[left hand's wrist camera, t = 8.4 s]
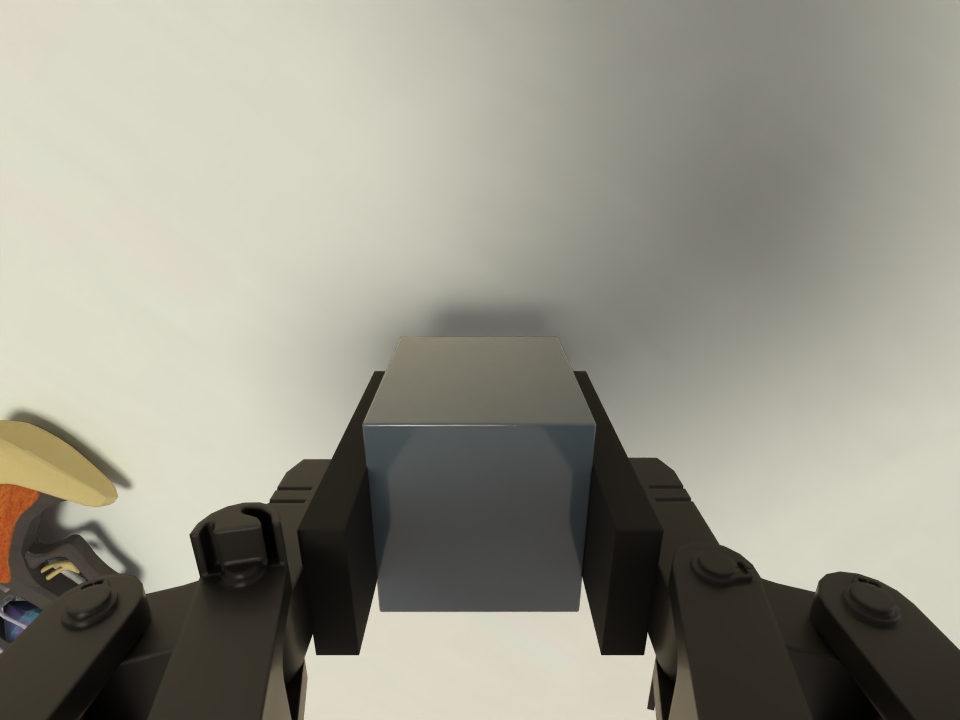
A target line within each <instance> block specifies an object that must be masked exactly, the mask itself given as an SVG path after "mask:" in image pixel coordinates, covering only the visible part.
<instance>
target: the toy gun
mask: <svg viewBox="0 0 960 720" xmlns="http://www.w3.org/2000/svg"><path fill="white" fill-rule="evenodd" d="M117 498H118V495H117V491H116V488H115V486H114V484H113V483H112V482H111V481H110V480H109V479H108V478H107V477H106V476H105V475H104V474H102V473H101V472H100V471H99V470H98V469H97V468H96V467H95V466H94V465H93V464H92V463H90V462H89V461H88V460H87V459H86V458H85V457H84V456H82V455H81V454H80V453H79V452H78V451H76V450H75V449H74V448H73V447H71V446H70V445H69V444H67V443H65V442H64V441H62V440H61V439H59V438H58V437H56V436H54V435H52V434H51V433H49V432H47V431H45V430H43V429H41V428H39V427H36V426H34V425H32V424H30V423H25V422H19V421H9V420H0V654H1V653H2V652H3V651H4V650H5V649H6V648H7V647H8V646H9V645H10V644H11V643H12V642H13V641H14V640H15V639H16V638H17V637H18V636H19V635H20V634H21V633H22V632H23V631H24V629H25V628H26V627H27V626H28V625H29V624H30V623H31V622H32V621H33V620H34V619H35V618H36V617H37V616H38V615H39V614H40V613H41V612H42V611H43V610H44V609H45V608H46V607H47V606H48V605H50V604H51V603H52V602H53V601H55V600H56V599H57V598H58V597H60V596H61V595H62V594H63V593H65V592H67V591H68V590H70V589H72V588H74V587H76V586H78V584H77V583H75V582H74V581H72V580H71V579H69V578H67V577H66V576H64V575H63V574H62V573H60V572H61V571H63V570H70V571H73V572H76V573H80V572H81V573H82V574H83V575H84V577H85V578H87V579H88V580H92V579H95V578H98V577H101V576H106V575H114V574H119V573H117V572H116V571H114V570H113V569H112V568H110V567H109V566H108V565H107V564H105V563H104V562H103V561H102V560H101V559H100V558H99V557H98V556H97V555H96V554H95V552H94V551H93V550H92V549H91V547H90V546H89V545H88V544H87V542H86V541H85V540H84V539H83V538H82V537H81V536H80V535H72V536H70V537H68V538H66V539H64V540H62V541H60V542H58V543H55V544H51V545H43V544H40V543H39V542H38V539H37V532H38V527H39V524H40V521H41V518H42V515H43V513H44V510H45V509H47V508H48V507H50V506H53V505H55V504H57V503H59V502H62V501H67V500H68V501H71V502H75V503H79V504H82V505H85V506H90V507H100V506H105V505H110V504H112V503H113V502H114V501H115V500H116V499H117ZM62 556H63V557H66V558H68V559H69V560H63V561H57V562H53V563H50V564H49V563H48V562H47V561H46V560H48V559H51V558H55V557H62ZM55 566H60V567H59V568H57V569H54V568H53V567H55ZM17 595H18V596H19V597H21V598H23V599H25V600H27V601H16V599H15V597H16V596H17ZM2 607H3V611H4V612H2V610H1V608H2ZM2 617H3V618H4V619H3V618H2Z"/></svg>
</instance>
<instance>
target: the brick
mask: <svg viewBox="0 0 960 720" xmlns="http://www.w3.org/2000/svg"><path fill="white" fill-rule="evenodd" d="M362 426H363V437H364V448H365V459H366V467H367V469H368V479H369V490H370V501H371V512H372V523H373V534H374V544H375V555H376V566H377V577H378V579H377V588H378V598H379V609H380V611H381V612H578V611H579V606H580V596H581V585H582V574H583V563H584V552H585V541H586V531H587V520H588V509H589V498H590V487H591V477H592V466H593V455H594V444H595V433H596V423H595V421H594V418H593V416H592V414H591V412H590V409H589V407H588V405H587V402H586V400H585V398H584V395H583V393H582V391H581V389H580V386H579V384H578V382H577V379H576V377H575V375H574V372H573V370H572V368H571V366H570V363H569V361H568V359H567V356H566V354H565V352H564V350H563V347H562V345H561V343H560V340H559V338H558V337H401V338H400V340H399V342H398V344H397V347H396V349H395V351H394V354H393V356H392V358H391V360H390V363H389V365H388V367H387V370H386V372H385V374H384V376H383V379H382V381H381V383H380V386H379V388H378V390H377V393H376V395H375V397H374V399H373V402H372V404H371V406H370V409H369V411H368V413H367V415H366V418H365V420H364V422H363V425H362Z"/></svg>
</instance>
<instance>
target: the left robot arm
mask: <svg viewBox="0 0 960 720" xmlns="http://www.w3.org/2000/svg"><path fill="white" fill-rule="evenodd" d="M385 372H386V371H375V372H374V374H373V376H372V378H371V380H370V382H369V384H368V386H367V388H366V390H365V392H364V394H363V396H362V398H361V400H360V402H359V404H358V406H357V408H356V410H355V412H354V415H353V417H352V419H351V421H350V423H349V425H348V427H347V429H346V431H345V433H344V435H343V437H342V439H341V441H340V443H339V445H338V447H337V449H336V451H335V453H334V455H333V457H332V459H304V460H302V461H301V462H300V463H298V464H297V465H296V466H294V467H293V468H292V469H290V470H289V471H288V472H287V473H286V474H285V476H284V478H283V479H282V481H281V482H280V484H279V486H278V487H277V490H276V491H275V492H274V494H273V495H272V497H271V499H270V503H268V504H263V503H260V502H258V503H241V504H236V505H232V506H228V507H225V508H223V509H221V510H218V511H216V512H214V513H212V514H210V515H209V516H207V517H206V518H205V519H203V520H202V521H201V522H199V523H198V524H197V525H196V527H195V528H194V529H193V531H192V532H191V533H190V539H191V543H192V547H193V551H194V555H195V559H196V563H197V567H198V571H199V574H200V579H199V581H196V582H193V583H190V584H186V585H183V586H179V587H174V588H170V589H166V590H162V591H157V592H153V593H149V594H145V591H144V588H143V584H142V583H141V582H140V581H139V580H138V579H137V578H136V577H135V576H130V575H125V574H114V575H106V576H101V577H98V578H95V579H92V580H89V581H86V582H83V583H81V584H80V585H78V586H76V587H74V588H72V589H70V590H68V591H67V592H65V593H63V594H62V595H61V596H60V597H58V598H57V599H56V600H55V601H53V602H52V603H51V604H50V605H48V606H47V607H46V608H45V609H44V610H43V611H42V612H41V613H40V614H39V615H38V616H37V617H36V618H35V619H34V620H33V621H32V622H31V623H30V624H29V625H28V626H27V627H26V628H25V629H24V631H23V632H22V633H21V634H20V635H19V636H18V637H17V638H16V639H15V640H14V641H13V642H12V643H11V644H10V645H9V646H8V647H7V648H6V649H5V650H4V651H3V652H2V653H1V654H0V720H304V710H305V699H306V688H307V671H306V665H305V659H304V658H305V655H306V652H307V649H308V646H309V643H310V640H311V638H312V635H313V637H314V643H315V650H316V655H359V653H360V649H361V645H362V641H363V636H364V632H365V628H366V624H367V620H368V616H369V612H370V608H371V603H372V599H373V595H374V591H375V587H376V583H377V579H378V577H377V566H376V555H375V544H374V534H373V523H372V512H371V501H370V490H369V479H368V469H367V467H366V459H365V448H364V437H363V426H362V425H363V422H364V420H365V418H366V415H367V413H368V411H369V409H370V406H371V404H372V402H373V399H374V397H375V395H376V393H377V390H378V388H379V386H380V383H381V381H382V379H383V376H384V374H385ZM573 372H574V375H575V377H576V379H577V382H578V384H579V386H580V389H581V391H582V393H583V395H584V398H585V400H586V402H587V405H588V407H589V409H590V412H591V414H592V416H593V418H594V421H595V423H596V433H595V444H594V455H593V466H592V477H591V487H590V498H589V509H588V520H587V531H586V541H585V552H584V563H583V574H582V577H583V581H584V586H585V590H586V594H587V598H588V602H589V606H590V610H591V614H592V619H593V623H594V627H595V631H596V635H597V639H598V643H599V647H600V651H601V655H644V652H645V646H646V639H647V633H648V634H649V637H650V640H651V642H652V645H653V648H654V651H655V654H656V659H655V665H654V671H653V676H652V682H651V688H650V694H649V700H648V707H647V709H650V710H654V708H656V719H657V720H960V650H959V649H958V648H957V647H956V646H955V645H954V644H953V643H952V642H951V641H950V640H949V639H948V638H947V637H946V636H945V635H944V634H943V633H942V632H941V631H940V630H939V629H938V628H937V627H936V626H935V625H934V624H933V623H932V622H931V621H930V620H929V619H928V618H927V617H926V616H925V615H924V614H923V613H922V612H921V611H920V610H919V609H918V608H917V607H916V606H915V605H914V604H913V603H912V602H911V601H909V600H908V599H907V598H906V597H904V596H903V595H902V594H901V593H899V592H898V591H897V590H895V589H893V588H891V587H889V586H887V585H886V584H884V583H882V582H880V581H878V580H875V579H872V578H869V577H866V576H863V575H860V574H856V573H848V572H835V573H830V574H826V575H825V576H824V577H823V578H822V579H821V580H820V581H819V582H818V586H817V589H816V592H812V591H808V590H803V589H799V588H795V587H791V586H786V585H782V584H778V583H775V582H771V581H768V580H765V579H762V578H760V576H759V574H758V572H757V571H756V569H755V568H754V566H753V565H752V564H751V563H750V562H749V561H748V560H746V559H745V558H744V557H743V556H742V555H740V554H739V553H737V552H735V551H733V550H731V549H729V548H727V547H725V546H722V545H719V543H718V541H717V540H716V538H715V537H714V535H713V533H712V532H711V530H710V528H709V527H708V525H707V524H706V522H705V520H704V519H703V517H702V515H701V514H700V512H699V511H698V509H697V507H696V506H695V504H694V502H691V498H690V496H689V494H688V493H687V491H686V489H683V485H682V483H681V481H680V480H679V478H678V476H677V475H676V473H675V472H674V470H672V469H671V468H670V467H668V466H667V465H666V464H664V463H663V462H662V461H660V460H659V459H658V458H628V457H627V455H626V453H625V451H624V448H623V446H622V444H621V442H620V440H619V438H618V436H617V434H616V432H615V430H614V428H613V426H612V424H611V422H610V420H609V418H608V416H607V414H606V412H605V410H604V408H603V406H602V404H601V402H600V400H599V397H598V395H597V393H596V391H595V389H594V387H593V385H592V383H591V381H590V379H589V377H588V375H587V373H586V371H573Z"/></svg>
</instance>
